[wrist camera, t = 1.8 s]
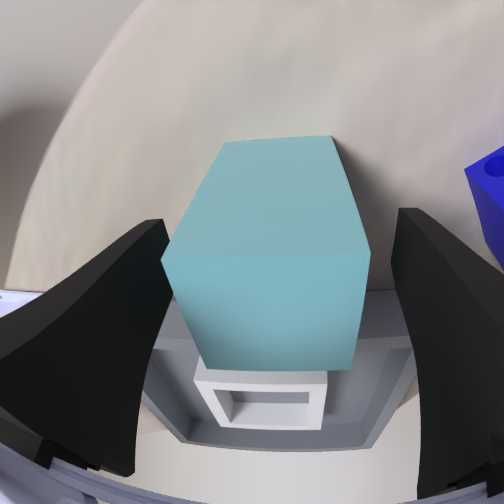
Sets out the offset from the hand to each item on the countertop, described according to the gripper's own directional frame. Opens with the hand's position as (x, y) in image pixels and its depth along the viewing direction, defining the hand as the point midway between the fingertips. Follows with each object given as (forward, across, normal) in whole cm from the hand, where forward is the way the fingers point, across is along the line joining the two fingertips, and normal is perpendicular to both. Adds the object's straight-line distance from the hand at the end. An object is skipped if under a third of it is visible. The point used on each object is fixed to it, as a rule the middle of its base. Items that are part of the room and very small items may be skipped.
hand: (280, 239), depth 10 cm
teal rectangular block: (+4, 0, 0) cm, 4 cm away
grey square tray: (+4, +2, +15) cm, 16 cm away
